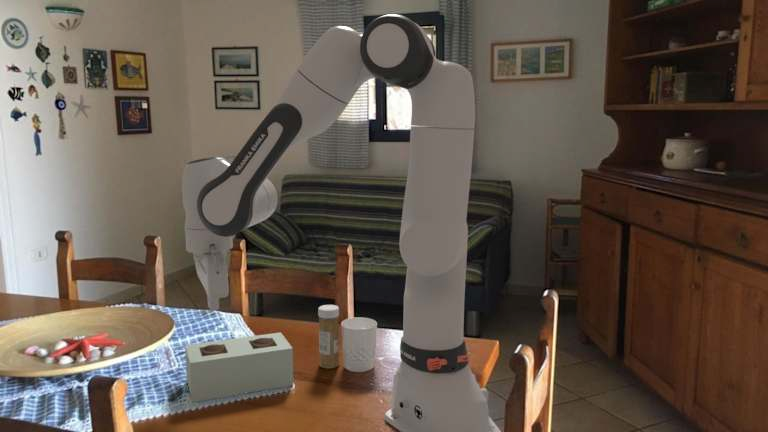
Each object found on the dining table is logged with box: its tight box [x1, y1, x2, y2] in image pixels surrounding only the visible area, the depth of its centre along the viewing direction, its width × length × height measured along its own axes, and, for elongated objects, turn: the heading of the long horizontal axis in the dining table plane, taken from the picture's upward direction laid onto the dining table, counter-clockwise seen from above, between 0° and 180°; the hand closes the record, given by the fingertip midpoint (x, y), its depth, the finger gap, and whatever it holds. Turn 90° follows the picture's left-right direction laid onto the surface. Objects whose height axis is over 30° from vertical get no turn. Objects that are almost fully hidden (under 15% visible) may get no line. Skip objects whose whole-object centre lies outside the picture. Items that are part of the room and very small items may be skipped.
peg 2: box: [253, 338, 273, 349], centre depth 127 cm, size 4×4×7 cm
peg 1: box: [203, 344, 224, 356], centre depth 123 cm, size 4×4×7 cm
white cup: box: [340, 316, 378, 373], centre depth 134 cm, size 8×8×10 cm
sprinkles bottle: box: [317, 304, 340, 369], centre depth 134 cm, size 5×5×14 cm
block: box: [184, 331, 294, 403], centre depth 125 cm, size 10×20×8 cm, turn 113°
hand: (213, 308), depth 121 cm, fingers closed
